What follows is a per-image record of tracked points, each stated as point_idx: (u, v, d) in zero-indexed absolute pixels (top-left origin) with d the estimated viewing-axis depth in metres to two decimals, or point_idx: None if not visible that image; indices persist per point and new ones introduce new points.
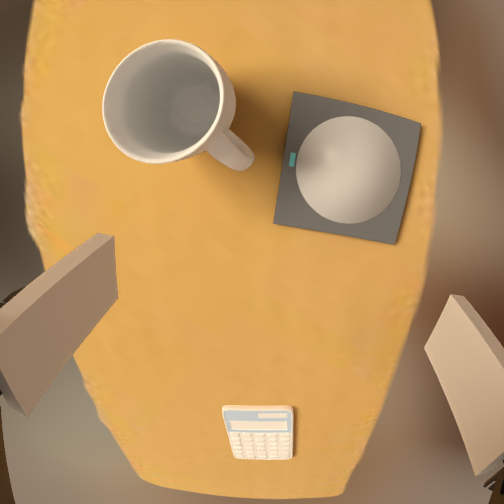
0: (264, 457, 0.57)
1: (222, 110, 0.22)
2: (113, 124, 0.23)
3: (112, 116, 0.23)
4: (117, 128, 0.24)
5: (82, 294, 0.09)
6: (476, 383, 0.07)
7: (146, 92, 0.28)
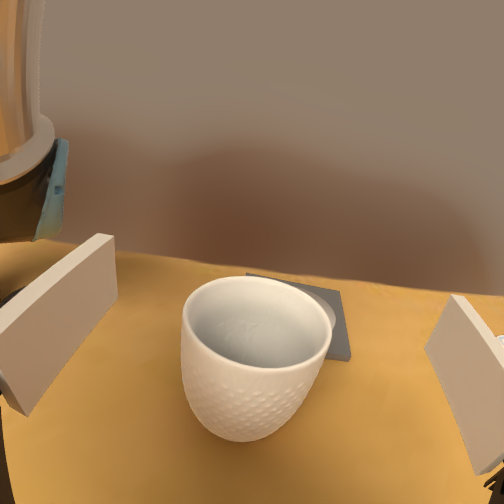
0: None
1: (273, 280, 0.27)
2: None
3: None
4: None
5: (82, 294, 0.09)
6: (476, 383, 0.07)
7: None
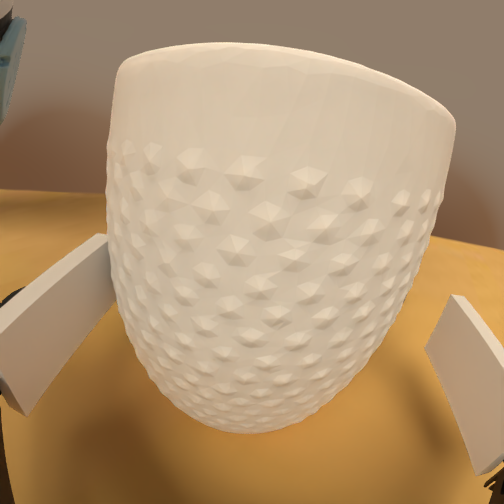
0: None
1: None
2: None
3: None
4: None
5: (82, 294, 0.09)
6: (476, 383, 0.07)
7: None
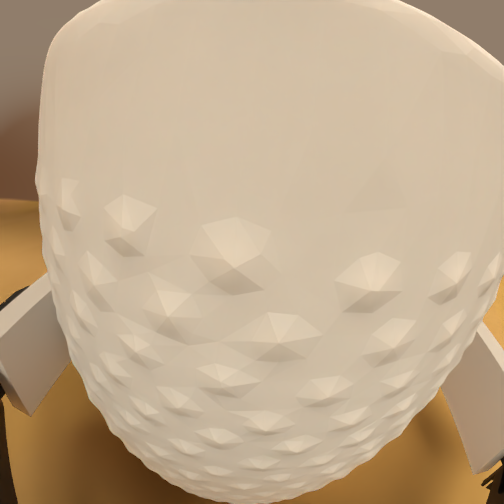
0: None
1: None
2: None
3: None
4: None
5: None
6: (474, 382, 0.07)
7: None
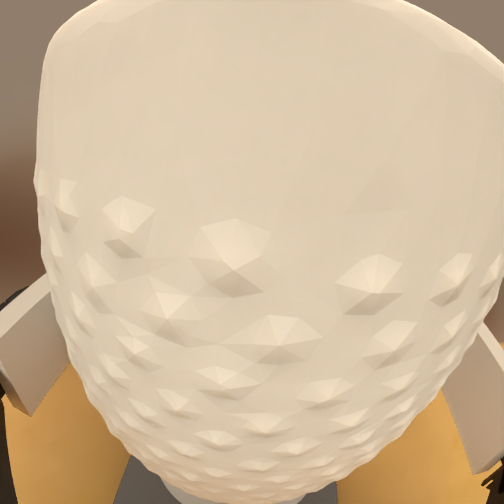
0: None
1: None
2: None
3: None
4: None
5: None
6: (474, 382, 0.07)
7: None
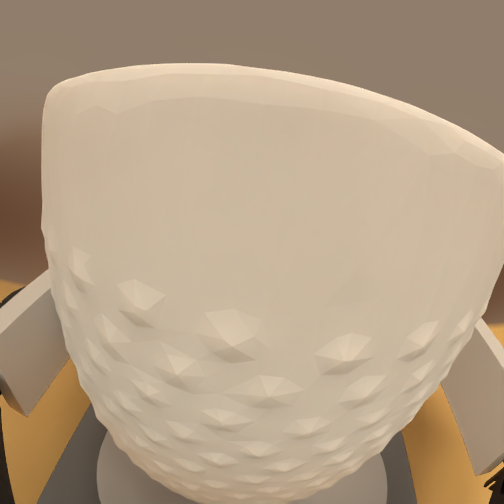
0: None
1: None
2: None
3: None
4: None
5: None
6: (476, 383, 0.07)
7: None
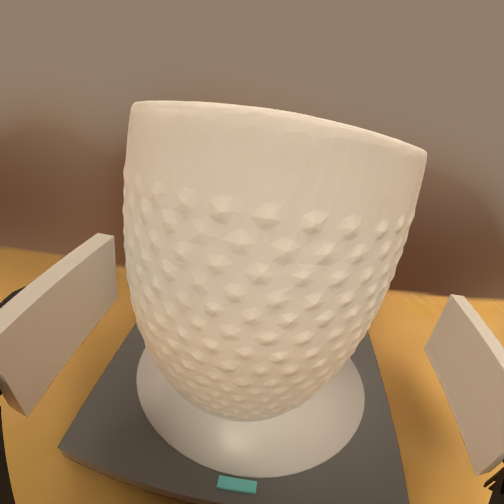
0: None
1: None
2: None
3: None
4: None
5: (82, 294, 0.09)
6: (476, 383, 0.07)
7: None
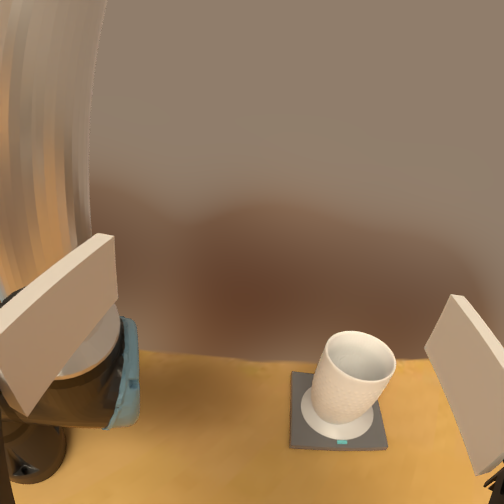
0: None
1: (357, 331, 0.44)
2: None
3: None
4: None
5: (82, 294, 0.09)
6: (476, 383, 0.07)
7: None
